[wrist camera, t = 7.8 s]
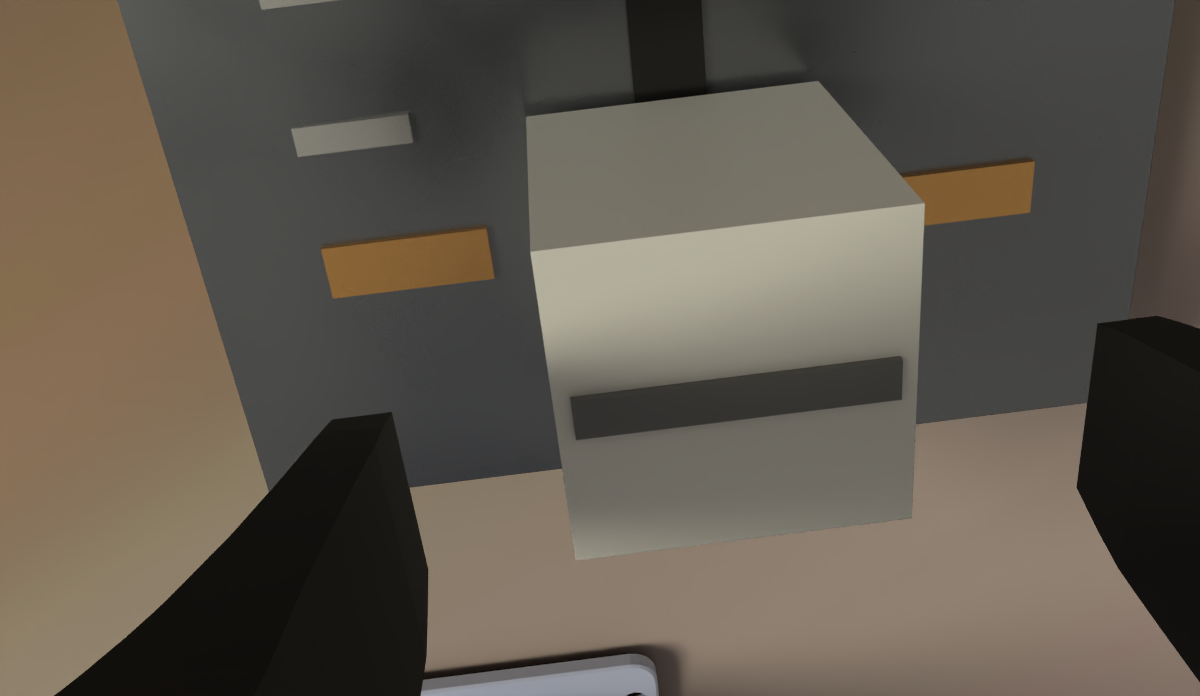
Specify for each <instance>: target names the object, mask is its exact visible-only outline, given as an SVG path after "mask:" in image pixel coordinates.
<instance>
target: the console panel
mask: <svg viewBox="0 0 1200 696" xmlns="http://www.w3.org/2000/svg"><path fill="white" fill-rule="evenodd" d="M117 1H118V4H119V7H120V10H121V13H122V17H123V20H124V23H125V26H126V30H127V33H128V36H129V39H130V43H131V46H132V49H133V52H134V56H135V59H136V62H137V65H138V69H139V72H140V75H141V78H142V82H143V85H144V88H145V91H146V94H147V98H148V101H149V104H150V107H151V111H152V114H153V117H154V120H155V124H156V127H157V130H158V133H159V137H160V140H161V143H162V146H163V150H164V153H165V156H166V159H167V163H168V166H169V169H170V172H171V176H172V179H173V182H174V185H175V188H176V192H177V195H178V198H179V201H180V205H181V208H182V211H183V214H184V218H185V221H186V224H187V227H188V231H189V234H190V237H191V240H192V244H193V247H194V250H195V253H196V257H197V260H198V263H199V266H200V270H201V273H202V276H203V279H204V282H205V286H206V289H207V292H208V295H209V299H210V302H211V305H212V308H213V312H214V315H215V318H216V321H217V325H218V328H219V331H220V334H221V338H222V341H223V344H224V347H225V351H226V354H227V357H228V360H229V363H230V367H231V370H232V373H233V376H234V380H235V383H236V386H237V389H238V393H239V396H240V399H241V402H242V406H243V409H244V412H245V415H246V419H247V422H248V425H249V428H250V432H251V435H252V438H253V441H254V445H255V448H256V451H257V454H258V457H259V461H260V464H261V467H262V470H263V474H264V477H265V480H266V483H267V487H268V490H269V492H270V491H271V489H272V488H273V487H274V486H275V485H276V484H277V483H278V481H279V480H280V479H281V478H282V477H283V476H284V474H285V473H286V472H287V471H288V470H289V469H290V467H291V466H292V465H293V464H294V463H295V461H296V460H297V459H298V458H299V457H300V455H301V454H302V453H303V452H304V451H305V450H306V448H307V447H308V446H309V445H310V444H311V442H312V441H313V440H314V439H315V438H316V437H317V435H318V434H319V433H320V432H321V431H322V430H323V429H324V428H325V426H326V425H327V424H328V423H329V422H330V421H331V420H332V419H339V418H347V417H355V416H363V415H371V414H379V413H387V412H392V415H393V419H394V424H395V428H396V432H397V437H398V441H399V445H400V450H401V454H402V458H403V463H404V467H405V471H406V476H407V480H408V484H409V488H410V487H418V486H426V485H434V484H442V483H450V482H458V481H466V480H474V479H482V478H490V477H498V476H506V475H514V474H522V473H530V472H538V471H546V470H554V469H562V464H561V457H560V450H559V444H558V437H557V430H556V423H555V416H554V410H553V403H552V396H551V389H550V383H549V376H548V369H547V362H546V355H545V349H544V342H543V335H542V328H541V321H540V315H539V308H538V301H537V294H536V288H535V281H534V274H533V267H532V260H531V254H530V228H529V196H528V164H527V131H526V117H527V116H535V115H544V114H552V113H560V112H568V111H576V110H584V109H593V108H601V107H609V106H617V105H625V104H634V103H642V102H650V101H658V100H666V99H674V98H683V97H691V96H699V95H707V94H715V93H723V92H732V91H740V90H748V89H756V88H764V87H773V86H781V85H789V84H797V83H805V82H813V81H819V82H820V83H821V85H822V86H823V87H824V88H825V89H826V90H827V91H828V93H829V94H830V95H831V96H832V97H833V98H834V99H835V101H836V102H837V103H838V104H839V105H840V106H841V108H842V109H843V110H844V111H845V112H846V113H847V114H848V116H849V117H850V118H851V119H852V120H853V121H854V122H855V124H856V125H857V126H858V127H859V128H860V129H861V130H862V132H863V133H864V134H865V135H866V136H867V137H868V138H869V140H870V141H871V142H872V143H873V144H874V145H875V147H876V148H877V149H878V150H879V151H880V152H881V153H882V155H883V156H884V157H885V158H886V159H887V160H888V161H889V163H890V164H891V165H892V166H893V167H894V168H895V169H896V171H897V172H898V173H899V174H900V175H901V176H902V178H903V179H904V180H905V181H906V182H907V183H908V184H909V186H910V187H911V188H912V189H913V190H914V191H915V192H916V194H917V195H918V196H919V197H920V198H921V199H922V200H923V202H924V203H925V212H924V237H923V261H922V285H921V309H920V333H919V357H918V381H917V406H916V424H922V423H930V422H938V421H946V420H954V419H962V418H970V417H978V416H986V415H994V414H1002V413H1010V412H1018V411H1026V410H1034V409H1042V408H1050V407H1058V406H1066V405H1074V404H1082V403H1087V402H1088V394H1089V386H1090V378H1091V370H1092V362H1093V354H1094V346H1095V338H1096V330H1097V323H1104V322H1112V321H1120V320H1128V319H1129V314H1130V307H1131V300H1132V293H1133V286H1134V280H1135V273H1136V266H1137V259H1138V252H1139V245H1140V238H1141V231H1142V224H1143V218H1144V211H1145V204H1146V197H1147V190H1148V183H1149V176H1150V169H1151V162H1152V156H1153V149H1154V142H1155V135H1156V128H1157V121H1158V114H1159V107H1160V100H1161V94H1162V87H1163V80H1164V73H1165V66H1166V59H1167V52H1168V45H1169V38H1170V31H1171V25H1172V18H1173V11H1174V4H1175V0H117Z"/></svg>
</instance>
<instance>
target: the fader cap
mask: <svg viewBox="0 0 1200 696" xmlns="http://www.w3.org/2000/svg"><path fill="white" fill-rule="evenodd" d="M526 131H527V164H528V196H529V228H530V254H531V260H532V267H533V274H534V281H535V288H536V294H537V301H538V308H539V315H540V321H541V328H542V335H543V342H544V349H545V355H546V362H547V369H548V376H549V383H550V389H551V396H552V403H553V410H554V416H555V423H556V430H557V437H558V444H559V450H560V457H561V464H562V471H563V478H564V484H565V491H566V498H567V505H568V511H569V518H570V525H571V532H572V539H573V545H574V552H575V559H576V560H584V559H592V558H600V557H608V556H616V555H623V554H631V553H639V552H647V551H655V550H663V549H671V548H679V547H687V546H695V545H703V544H711V543H719V542H727V541H735V540H743V539H751V538H759V537H767V536H775V535H783V534H791V533H798V532H806V531H814V530H822V529H830V528H838V527H846V526H854V525H862V524H870V523H878V522H886V521H894V520H902V519H910V518H912V502H913V478H914V454H915V430H916V406H917V381H918V357H919V333H920V309H921V285H922V261H923V237H924V212H925V203H924V202H923V200H922V199H921V198H920V197H919V196H918V195H917V194H916V192H915V191H914V190H913V189H912V188H911V187H910V186H909V184H908V183H907V182H906V181H905V180H904V179H903V178H902V176H901V175H900V174H899V173H898V172H897V171H896V169H895V168H894V167H893V166H892V165H891V164H890V163H889V161H888V160H887V159H886V158H885V157H884V156H883V155H882V153H881V152H880V151H879V150H878V149H877V148H876V147H875V145H874V144H873V143H872V142H871V141H870V140H869V138H868V137H867V136H866V135H865V134H864V133H863V132H862V130H861V129H860V128H859V127H858V126H857V125H856V124H855V122H854V121H853V120H852V119H851V118H850V117H849V116H848V114H847V113H846V112H845V111H844V110H843V109H842V108H841V106H840V105H839V104H838V103H837V102H836V101H835V99H834V98H833V97H832V96H831V95H830V94H829V93H828V91H827V90H826V89H825V88H824V87H823V86H822V85H821V83H820V82H819V81H813V82H805V83H797V84H789V85H781V86H773V87H764V88H756V89H748V90H740V91H732V92H723V93H715V94H707V95H699V96H691V97H683V98H674V99H666V100H658V101H650V102H642V103H634V104H625V105H617V106H609V107H601V108H593V109H584V110H576V111H568V112H560V113H552V114H544V115H535V116H527V117H526Z"/></svg>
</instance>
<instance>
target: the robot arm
mask: <svg viewBox="0 0 1200 696" xmlns="http://www.w3.org/2000/svg"><path fill="white" fill-rule="evenodd" d="M1077 489H1078V491H1079V493H1080V495H1081V497H1082V499H1083V501H1084V503H1085V505H1086V508H1087V510H1088V512H1089V514H1090V516H1091V518H1092V520H1093V522H1094V524H1095V526H1096V528H1097V530H1098V532H1099V534H1100V536H1101V537H1102V539H1103V541H1104V543H1105V545H1106V547H1107V548H1108V550H1109V552H1110V554H1111V556H1112V558H1113V559H1114V561H1115V563H1116V565H1117V567H1118V569H1119V570H1120V571H1121V573H1122V574H1123V576H1124V577H1125V579H1126V580H1127V582H1128V583H1129V584H1130V586H1131V587H1132V589H1133V590H1134V592H1135V593H1136V594H1137V596H1138V597H1139V599H1140V600H1141V601H1142V603H1143V604H1144V606H1145V607H1146V608H1147V610H1148V611H1149V613H1150V614H1151V616H1152V617H1153V618H1154V620H1155V621H1156V623H1157V624H1158V625H1159V627H1160V628H1161V630H1162V631H1163V632H1164V634H1165V635H1166V636H1167V638H1168V639H1169V641H1170V642H1171V643H1172V645H1173V646H1174V647H1175V649H1176V650H1177V652H1178V653H1179V654H1180V656H1181V657H1182V658H1183V660H1184V661H1185V663H1186V664H1187V665H1188V667H1189V668H1190V669H1191V671H1192V672H1193V674H1194V675H1195V676H1196V678H1197V679H1198V680H1199V682H1200V329H1198V328H1195V327H1193V326H1190V325H1187V324H1183V323H1180V322H1177V321H1174V320H1170V319H1167V318H1163V317H1159V316H1152V317H1144V318H1136V319H1128V320H1120V321H1112V322H1104V323H1097V330H1096V338H1095V346H1094V354H1093V362H1092V370H1091V378H1090V386H1089V394H1088V402H1087V410H1086V417H1085V425H1084V433H1083V441H1082V449H1081V457H1080V465H1079V473H1078V481H1077ZM427 619H428V567H427V563H426V558H425V554H424V550H423V545H422V541H421V537H420V532H419V528H418V524H417V519H416V515H415V510H414V506H413V502H412V497H411V493H410V489H409V484H408V480H407V476H406V471H405V467H404V463H403V458H402V454H401V450H400V445H399V441H398V437H397V432H396V428H395V424H394V419H393V415H392V412H387V413H379V414H371V415H363V416H355V417H347V418H339V419H332V420H331V421H330V422H329V423H328V424H327V425H326V426H325V428H324V429H323V430H322V431H321V432H320V433H319V434H318V435H317V437H316V438H315V439H314V440H313V441H312V442H311V444H310V445H309V446H308V447H307V448H306V450H305V451H304V452H303V453H302V454H301V455H300V457H299V458H298V459H297V460H296V461H295V463H294V464H293V465H292V466H291V467H290V469H289V470H288V471H287V472H286V473H285V474H284V476H283V477H282V478H281V479H280V480H279V481H278V483H277V484H276V485H275V486H274V487H273V488H272V489H271V491H270V492H269V493H268V494H267V495H266V496H265V497H264V499H263V500H262V501H261V502H260V503H259V504H258V505H257V506H256V508H255V509H254V510H253V511H252V512H251V513H250V514H249V515H248V517H247V518H246V519H245V520H244V521H243V522H242V523H241V524H240V526H239V527H238V528H237V529H236V530H235V531H234V532H233V533H232V534H231V536H230V537H229V538H228V539H227V540H226V541H225V542H224V543H223V544H222V545H221V546H220V547H219V548H218V549H217V550H216V551H215V552H214V553H213V554H212V555H211V556H210V557H209V558H208V559H207V560H206V561H205V562H204V563H203V564H202V565H201V566H200V567H199V568H198V569H197V570H196V571H195V572H194V573H193V574H192V575H191V576H190V577H189V578H188V579H187V580H186V581H185V582H184V583H183V584H182V585H181V586H180V587H179V588H178V589H177V590H176V591H175V592H174V593H173V594H172V595H171V596H170V597H169V598H168V599H167V600H166V601H165V602H164V603H163V604H162V605H161V606H160V607H159V608H158V609H157V610H156V611H155V612H154V613H152V614H151V615H150V616H149V617H148V618H147V619H146V620H145V621H144V622H143V623H141V624H140V625H139V626H138V627H137V628H136V629H135V630H134V631H132V632H131V633H130V634H129V635H128V636H127V637H126V638H125V639H123V640H122V641H121V642H120V643H119V644H117V645H116V646H115V647H114V648H113V649H111V650H110V651H109V652H108V653H107V654H105V655H104V656H103V657H102V658H101V659H99V660H98V661H97V662H96V663H95V664H94V665H92V666H91V667H90V668H89V669H88V670H86V671H85V672H84V673H83V674H82V675H80V676H79V677H78V678H76V679H75V680H74V681H73V682H71V683H70V684H69V685H68V686H66V687H65V688H64V689H63V690H61V691H60V692H58V693H57V694H56V695H54V696H627V695H628V694H631V693H634V692H637V693H642V694H640V695H637V696H659V691H658V682H657V674H656V668H655V666H654V663H653V662H652V661H651V660H650V659H649V658H648V657H646V656H643V655H640V654H624V655H616V656H608V657H600V658H592V659H584V660H577V661H569V662H561V663H553V664H545V665H537V666H529V667H521V668H513V669H505V670H497V671H490V672H482V673H474V674H466V675H458V676H450V677H442V678H434V679H426V680H423V677H424V670H425V663H426V652H427Z"/></svg>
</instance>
